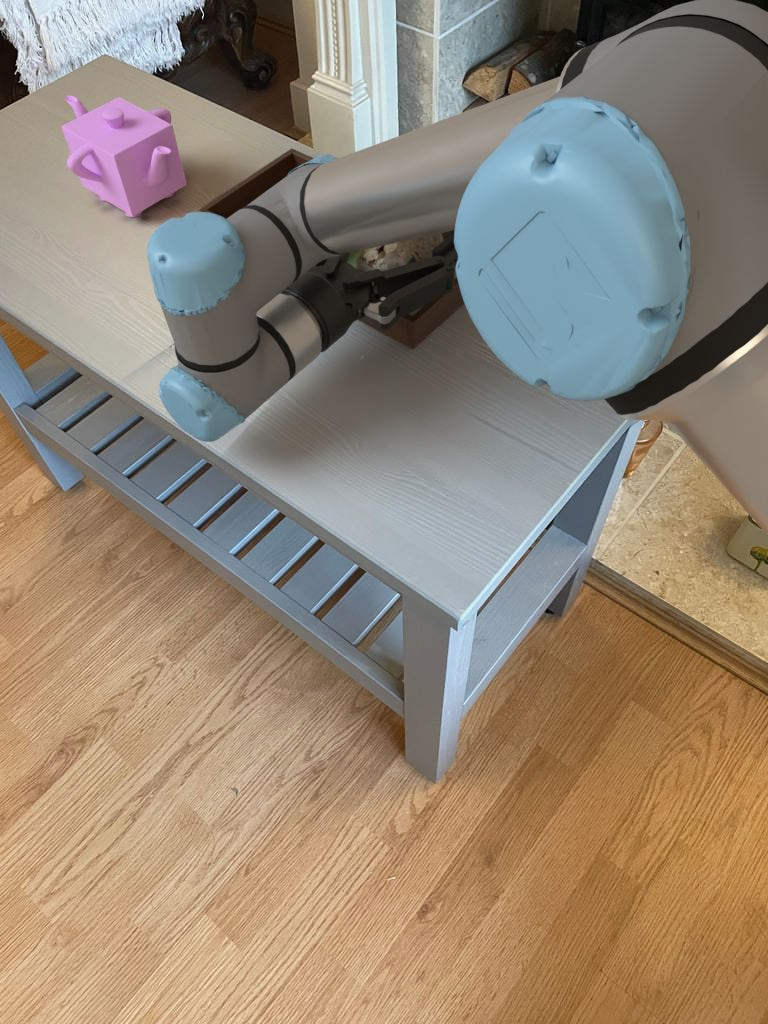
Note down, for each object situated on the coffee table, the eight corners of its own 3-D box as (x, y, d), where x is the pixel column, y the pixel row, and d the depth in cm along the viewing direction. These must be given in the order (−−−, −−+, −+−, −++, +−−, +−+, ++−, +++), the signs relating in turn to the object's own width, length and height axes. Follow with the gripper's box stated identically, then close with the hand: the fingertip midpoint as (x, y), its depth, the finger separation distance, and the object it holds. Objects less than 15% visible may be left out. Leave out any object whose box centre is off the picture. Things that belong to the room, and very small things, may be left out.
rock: (390, 317, 86) (400, 222, 80) (347, 298, 90) (353, 205, 84) (460, 294, 94) (473, 206, 88) (417, 277, 97) (428, 191, 92)
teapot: (203, 164, 108) (184, 82, 99) (188, 225, 100) (167, 142, 91) (90, 166, 108) (62, 84, 99) (67, 227, 101) (34, 144, 92)
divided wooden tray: (499, 271, 94) (503, 243, 91) (413, 349, 87) (413, 322, 84) (295, 175, 106) (291, 148, 103) (204, 237, 99) (197, 210, 96)
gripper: (224, 307, 87) (357, 208, 96) (385, 400, 78) (513, 281, 88) (211, 249, 80) (354, 149, 90) (384, 343, 72) (521, 221, 82)
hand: (432, 214), depth 89 cm, fingers open, 10 cm apart
